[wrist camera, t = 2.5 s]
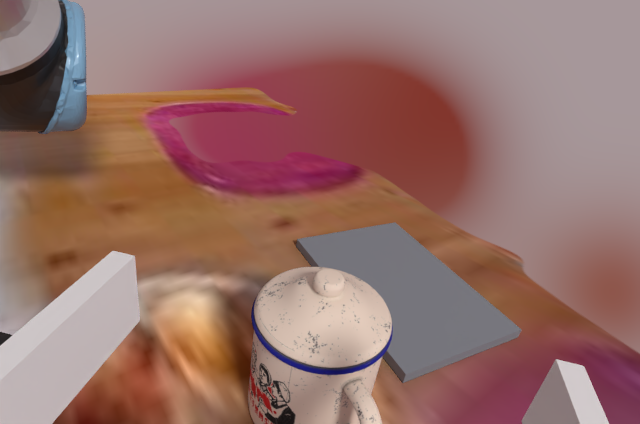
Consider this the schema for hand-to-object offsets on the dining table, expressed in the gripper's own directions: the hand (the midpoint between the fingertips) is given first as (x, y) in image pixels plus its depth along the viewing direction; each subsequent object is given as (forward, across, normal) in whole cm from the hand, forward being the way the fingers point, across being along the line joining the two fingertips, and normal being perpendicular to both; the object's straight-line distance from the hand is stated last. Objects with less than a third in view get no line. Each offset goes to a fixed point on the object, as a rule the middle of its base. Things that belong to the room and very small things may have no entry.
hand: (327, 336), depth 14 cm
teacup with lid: (+10, 0, -18) cm, 20 cm away
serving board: (+27, +5, -18) cm, 33 cm away
